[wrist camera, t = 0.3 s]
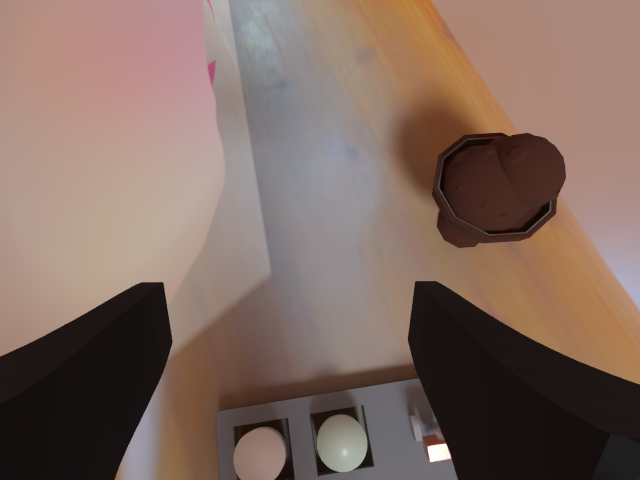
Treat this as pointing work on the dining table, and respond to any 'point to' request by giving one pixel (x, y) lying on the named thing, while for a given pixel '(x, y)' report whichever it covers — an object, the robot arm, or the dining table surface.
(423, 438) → the toggle lever
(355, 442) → the sage button
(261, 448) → the pinkish beige button
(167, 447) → the dining table surface
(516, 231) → the ice cream bowl
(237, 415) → the panel
